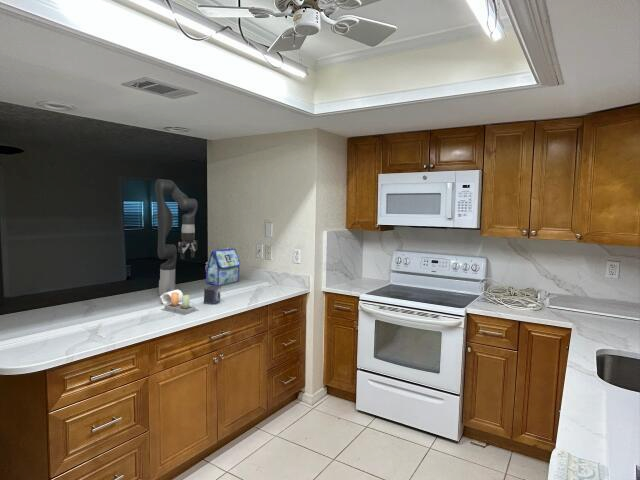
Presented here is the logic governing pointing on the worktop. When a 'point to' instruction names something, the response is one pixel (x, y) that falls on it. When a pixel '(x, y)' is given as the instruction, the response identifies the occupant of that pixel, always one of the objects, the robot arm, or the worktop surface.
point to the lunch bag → (223, 267)
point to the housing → (179, 309)
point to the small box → (212, 295)
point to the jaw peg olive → (185, 301)
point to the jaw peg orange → (174, 299)
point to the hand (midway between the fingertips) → (187, 258)
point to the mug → (167, 296)
